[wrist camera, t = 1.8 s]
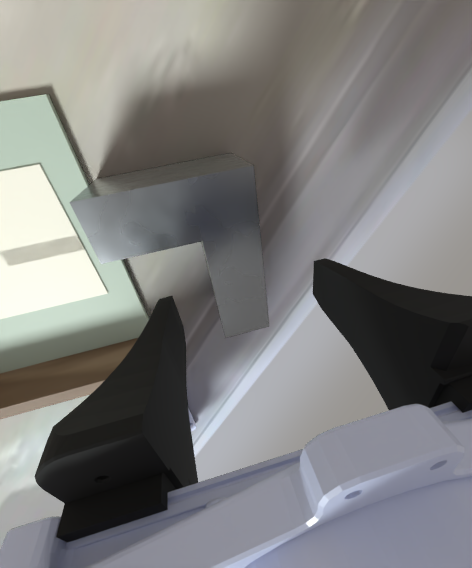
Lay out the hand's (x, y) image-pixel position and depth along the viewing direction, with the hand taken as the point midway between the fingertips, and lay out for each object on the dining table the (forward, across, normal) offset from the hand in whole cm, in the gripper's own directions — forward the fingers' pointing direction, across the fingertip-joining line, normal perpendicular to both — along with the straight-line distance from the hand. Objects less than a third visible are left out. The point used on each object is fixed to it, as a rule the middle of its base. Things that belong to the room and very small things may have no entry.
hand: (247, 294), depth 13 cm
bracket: (+7, +3, 0) cm, 7 cm away
